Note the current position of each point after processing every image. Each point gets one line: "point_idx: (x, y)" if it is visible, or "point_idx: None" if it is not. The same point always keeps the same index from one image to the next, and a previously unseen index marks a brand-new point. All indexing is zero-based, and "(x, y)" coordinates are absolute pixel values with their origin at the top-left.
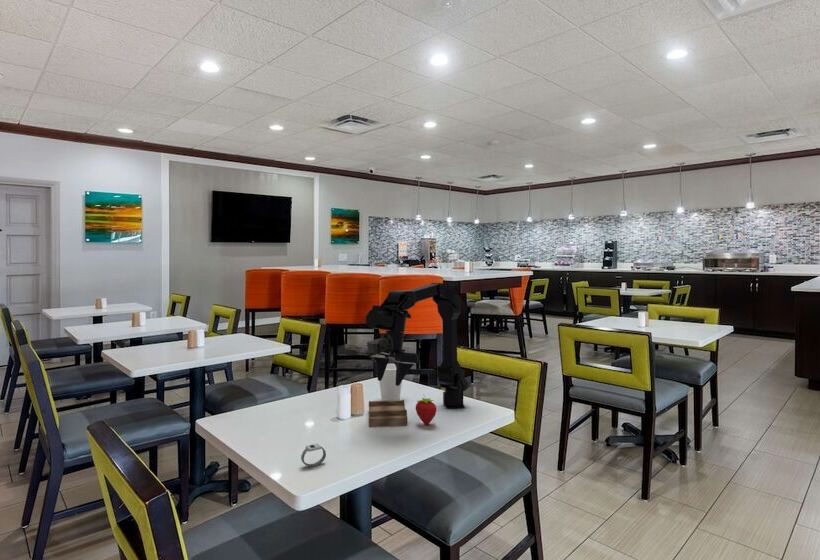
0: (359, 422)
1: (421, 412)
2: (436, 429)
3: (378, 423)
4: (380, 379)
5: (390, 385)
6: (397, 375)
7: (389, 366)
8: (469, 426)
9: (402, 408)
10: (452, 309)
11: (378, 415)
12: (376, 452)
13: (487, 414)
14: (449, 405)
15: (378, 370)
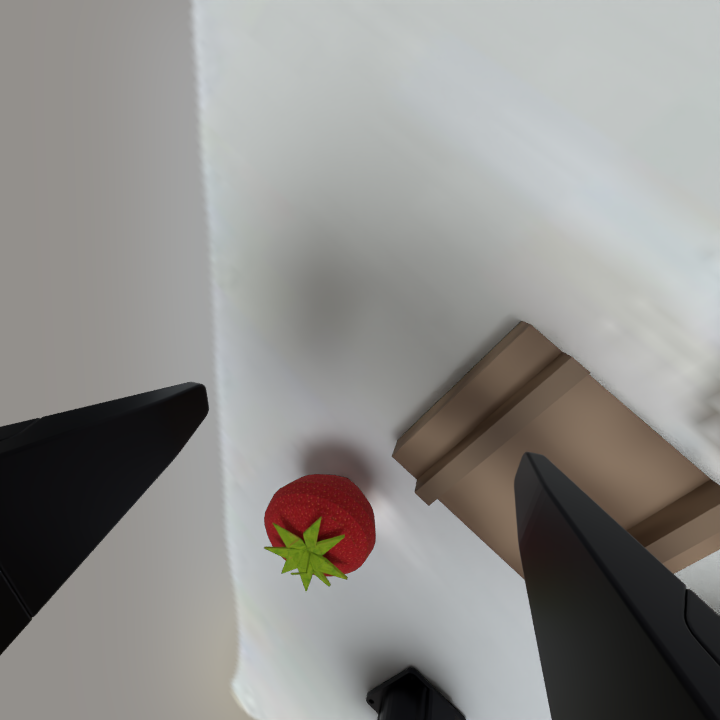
0: (619, 333)
1: (309, 480)
2: (294, 468)
3: (488, 357)
4: (517, 479)
5: None
6: (61, 415)
7: None
8: (244, 546)
9: (505, 545)
10: None
11: (521, 390)
12: (283, 155)
13: (276, 663)
14: (411, 690)
15: (583, 557)
